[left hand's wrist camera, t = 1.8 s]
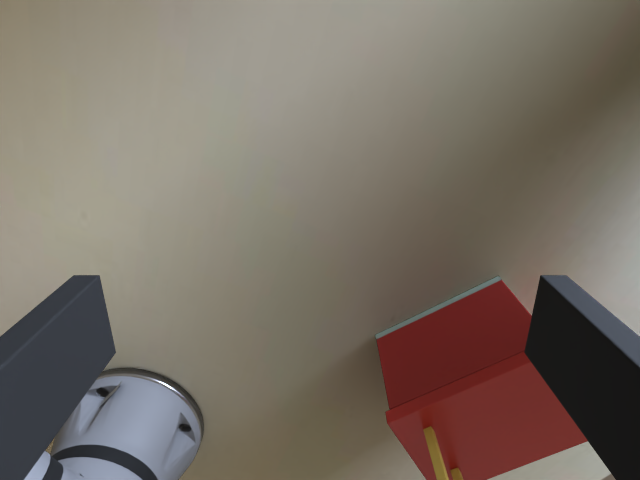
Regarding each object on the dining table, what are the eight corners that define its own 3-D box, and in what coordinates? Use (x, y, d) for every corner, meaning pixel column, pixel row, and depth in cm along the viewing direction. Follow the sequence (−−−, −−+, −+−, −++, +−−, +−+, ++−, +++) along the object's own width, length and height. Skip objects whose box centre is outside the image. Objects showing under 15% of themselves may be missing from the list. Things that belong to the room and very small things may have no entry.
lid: (435, 484, 38) (464, 596, 30) (384, 411, 35) (402, 514, 27) (590, 424, 35) (669, 530, 27) (550, 339, 32) (626, 429, 24)
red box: (416, 398, 48) (439, 482, 38) (375, 334, 45) (388, 409, 35) (533, 347, 45) (590, 424, 35) (498, 275, 42) (550, 338, 32)
